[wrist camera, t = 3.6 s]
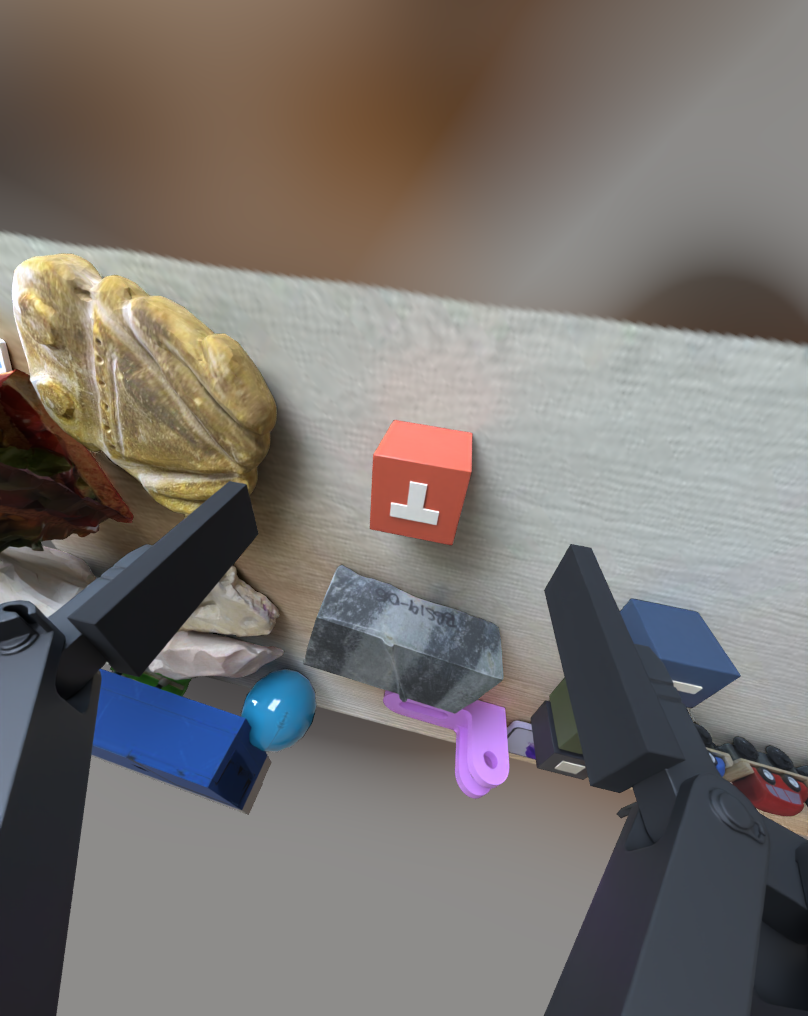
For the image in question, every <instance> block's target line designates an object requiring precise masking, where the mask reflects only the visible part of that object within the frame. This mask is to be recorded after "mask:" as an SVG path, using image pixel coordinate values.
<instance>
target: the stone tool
mask: <svg viewBox="0 0 808 1016" xmlns="http://www.w3.org/2000/svg"><path fill="white" fill-rule="evenodd" d="M283 654H284V650H282V649H280V648H276V647H273V646H269V647H264V646H259V645H256V644H252V643H248V642H244V641H241V640H236V639H233V638H229V637H225V636H220V635H214V634H210V633H208V632H198V631H195V630H190V631H179V632H177V633H176V634H175V635H174V636H173V638H172V639H171V640H170V641H169V642H168V644H167V645H166V646H165V647H164V648H163V650H162V651H161V652H160V653H159V654H158V656H157V657H156V658H155V659H154V660H153V662H152V663H151V664H150V665H149V666H148V668H147V669H146V670H145V671H147V672H152V673H160V674H162V675H163V676H166V677H169V678H172V679H174V680H182V679H191V678H196V677H198V676H224V677H232V678H240V677H243V676H246V675H250V674H253V673H255V672H257V670H258V669H259V668H260V667H261V666H262V665H264V664H267V663H270V662H271V661H273V660H274V659H276V658H279V657H281V656H282V655H283Z"/></svg>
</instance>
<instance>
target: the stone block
mask: <svg viewBox="0 0 808 1016" xmlns="http://www.w3.org/2000/svg"><path fill="white" fill-rule="evenodd" d="M304 665H308V666H311V667H314V668H317V669H320V670H324V671H327V672H330V673H333V674H337V675H340V676H343V677H346V678H349V679H352V680H355V681H359V682H362V683H365V684H368V685H371V686H374V687H377V688H381V689H384V690H387V691H390V692H393V693H396V694H399V698H400V699H401V700H402V702H406V701H407V699H411V700H414V701H417V702H420V703H423V704H426V705H429V706H433V707H435V708H438V709H442V710H445V711H448V712H451V713H454V714H455V713H457V712H459V711H460V710H462V709H463V708H464V707H466V706H468V705H470V704H471V703H473V702H475V701H476V700H478V699H479V698H480V697H481V696H482V695H484V694H485V693H486V692H487V691H489V690H490V689H492V688H493V687H495V686H496V685H497V684H499V683H500V682H501V681H502V680H503V664H502V649H501V637H500V632H499V627H497V626H496V625H495V624H493V623H492V622H487V621H486V620H484V619H481V618H476V617H474V616H469V615H468V614H467V613H464V612H461V611H458V610H456V609H453V608H449V607H445V606H442V605H438V604H435V603H432V602H429V601H426V600H423V599H419V598H417V597H414V596H412V595H410V594H408V593H406V592H404V591H402V590H399V589H398V588H396V587H394V586H392V585H390V584H388V583H384V582H381V581H378V580H376V579H373V578H366V577H364V576H360V575H358V574H356V573H355V572H353V571H352V570H351V569H349V568H347V567H345V566H343V565H340V566H339V567H338V568H337V569H336V572H335V574H334V576H333V579H332V581H331V583H330V586H329V588H328V591H327V593H326V595H325V598H324V600H323V603H322V605H321V608H320V610H319V613H318V615H317V618H316V621H315V624H314V627H313V631H312V634H311V637H310V640H309V644H308V647H307V652H306V656H305V659H304Z"/></svg>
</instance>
